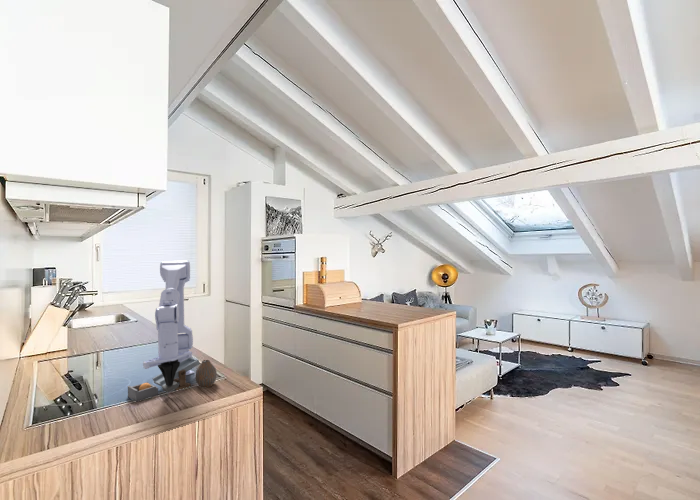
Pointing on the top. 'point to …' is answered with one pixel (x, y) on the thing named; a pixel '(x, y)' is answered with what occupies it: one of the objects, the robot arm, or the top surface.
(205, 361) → the vase
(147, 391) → the grey open box
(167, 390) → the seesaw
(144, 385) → the ball
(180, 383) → the stand
